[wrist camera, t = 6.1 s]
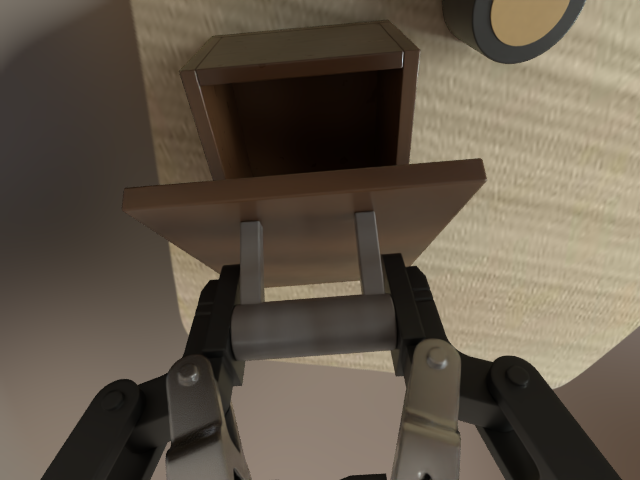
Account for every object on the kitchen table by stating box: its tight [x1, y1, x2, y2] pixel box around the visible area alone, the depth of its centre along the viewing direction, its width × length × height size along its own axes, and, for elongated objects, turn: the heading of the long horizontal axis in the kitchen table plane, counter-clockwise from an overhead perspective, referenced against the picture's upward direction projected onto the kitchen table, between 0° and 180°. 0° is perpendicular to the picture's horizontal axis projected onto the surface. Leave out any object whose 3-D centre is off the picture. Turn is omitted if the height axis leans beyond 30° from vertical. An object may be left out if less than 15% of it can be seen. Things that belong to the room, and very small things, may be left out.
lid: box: [122, 158, 487, 361], centre depth 17 cm, size 15×11×5 cm
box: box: [179, 20, 420, 181], centre depth 24 cm, size 14×11×8 cm
